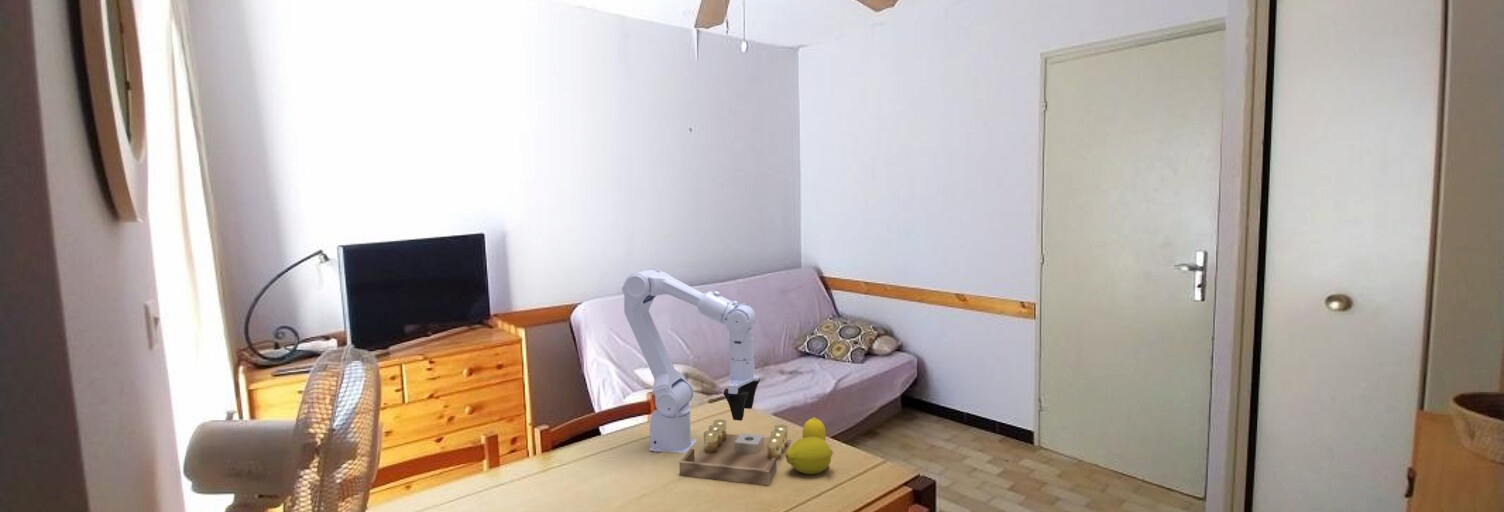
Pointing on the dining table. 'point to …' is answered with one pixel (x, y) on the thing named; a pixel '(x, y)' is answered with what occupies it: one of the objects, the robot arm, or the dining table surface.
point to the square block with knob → (749, 443)
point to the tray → (732, 464)
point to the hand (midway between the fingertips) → (742, 413)
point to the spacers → (719, 434)
